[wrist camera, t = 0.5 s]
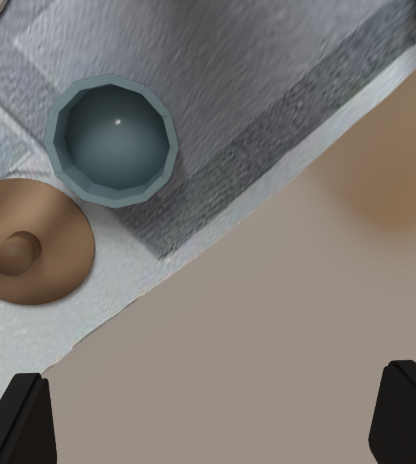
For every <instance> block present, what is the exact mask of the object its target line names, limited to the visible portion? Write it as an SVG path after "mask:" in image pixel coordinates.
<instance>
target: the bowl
mask: <svg viewBox="0 0 416 464" xmlns="http://www.w3.org/2000/svg"><path fill="white" fill-rule="evenodd" d="M44 142H45V143H44V145H45V148H46V150H47V153H48V156H49V159H50V161H51V164H52V167H53V170H54V172H55V175H57V176H56V177H57V178H59V179H60V180H61V181H62V182H63V183H64V184H65V185H66V186H67V187H68V188H70V189H71V190H72V191H73V192H74V193H75V194H76V195H77V196H78V197H79V198H81V199H82V198H83V200H85V201H88V202H92V203H96V204H100V205H103V206H107V207H111V208H119V207H124V206H128V205H132V204H137V203H141V202H145V201H147V200H148V199H149V198H150V197H151V196H152V195H153V194H155V193H156V192H157V191H158V190H159V189H160V188H161V187H162V186H163V185H164V184H165V183H166V182H167V181H168V180H169V179H170V176H171V173H172V170H173V166H174V163H175V159H176V156H177V152H178V149H179V146H178V141H177V137H176V133H175V128H174V124H173V120H172V116H171V112H170V110H169V109H168V108H167V107H166V106H165V104H164V103H163V102H162V101H161V100H160V99H159V98H158V97H157V96H156V94H155V93H154V92H153V91H152V90H151V89H150V88H149V87H148V86H146V85H143V84H140V83H137V82H134V81H131V80H129V79H126V78H123V77H120V76H117V75H114V74H110V73H109V74H105V75H100V76H96V77H92V78H87V79H83V80H78V81H75V82H73V83H72V85H71V86H70V87H69V88H68V89H67V90H66V91H65V92H64V93H63V94H62V95H61V96H60V97H59V98H58V99H57V100H56V101H55V102H54V103H53V105H52V106H51V108H50V110H49V115H48V121H47V126H46V132H45V137H44Z"/></svg>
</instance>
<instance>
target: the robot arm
mask: <svg viewBox="0 0 416 464" xmlns="http://www.w3.org/2000/svg"><path fill="white" fill-rule="evenodd" d="M368 441H369V446H370V450H371V452H372V454H373V455H374V457H375V459H376V461H377V462H378V464H416V362H414V361H412V360H396V361H395V360H394V361H391V362H390V363H389V364H388V366H386V367H385V368H384V370H383V374H382V378H381V383H380V387H379V392H378V397H377V401H376V406H375V410H374V415H373V420H372V425H371V429H370V433H369V439H368ZM0 464H57V451H56V442H55V435H54V425H53V417H52V408H51V399H50V392H49V383H48V380H47V378H44V379H43V378H41V375H40V373H18V374H15V375H14V377H13V378H12V380H11V382H10V384H9V385H8V387H7V389H6V391H5V392H4V394H3V396H2V398H1V399H0Z"/></svg>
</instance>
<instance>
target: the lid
mask: <svg viewBox="0 0 416 464" xmlns="http://www.w3.org/2000/svg"><path fill="white" fill-rule="evenodd" d="M94 252H95V243H94V235H93V232H92V228H91V226H90V223H89V221H88V219H87V217H86V216H85V214H84V212H83V211H82V210H81V209H80V207H79V206H78V205H77V204H76V203H75V202H74V201H73V200H72V199H71V198H70V197H68V196H67V195H66V194H65V193H63V192H61V191H60V190H58V189H57V188H55V187H53V186H50V185H48V184H46V183H43V182H40V181H36V180H31V179H22V178H12V179H4V180H0V299H2V300H4V301H8V302H12V303H16V304H23V305H39V304H45V303H50V302H53V301H56V300H59V299H61V298H63V297H65V296H67V295H68V294H70V293H71V292H73V291H74V290H75V289H76V288H77V287H78V286H79V285H80V284H81V283H82V282H83V280H84V279H85V277H86V276H87V274H88V272H89V270H90V268H91V265H92V262H93V258H94Z"/></svg>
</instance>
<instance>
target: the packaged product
mask: <svg viewBox="0 0 416 464" xmlns="http://www.w3.org/2000/svg"><path fill="white" fill-rule="evenodd" d="M7 1H8V0H0V12H1V11H2V10H3V8H4V6H5V5H6V3H7Z"/></svg>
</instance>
